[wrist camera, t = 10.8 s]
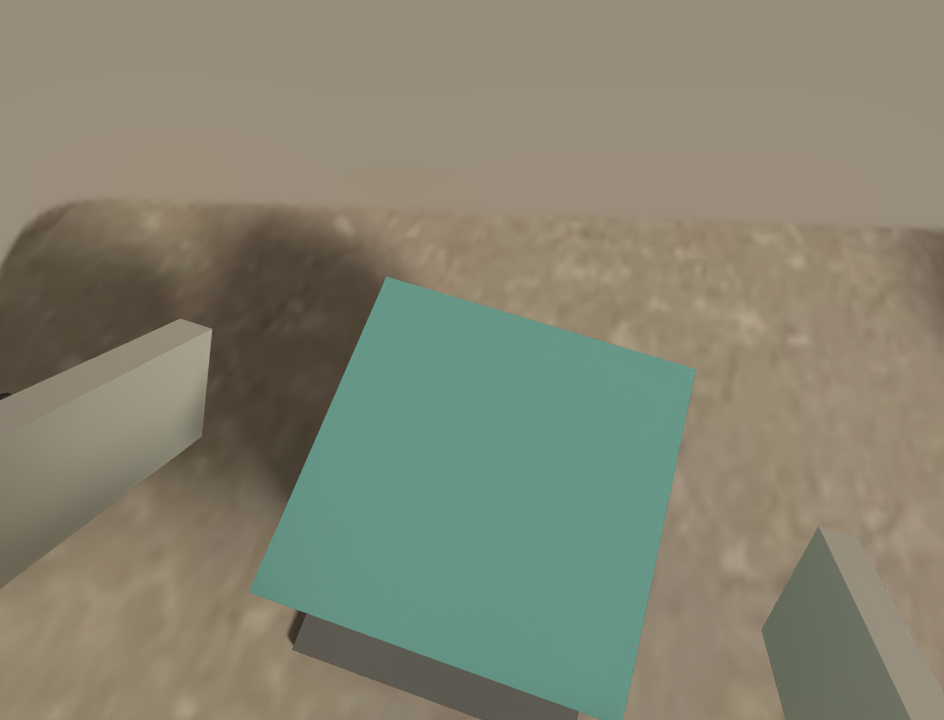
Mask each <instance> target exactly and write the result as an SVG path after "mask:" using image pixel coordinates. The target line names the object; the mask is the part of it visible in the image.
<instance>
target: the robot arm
mask: <svg viewBox="0 0 944 720" xmlns="http://www.w3.org/2000/svg"><path fill="white" fill-rule="evenodd" d="M211 336H212V329H211V328H208V327H205V326H202V325H199V324H196V323H192V322H189V321H186V320H183V319H179V320H176V321H174V322H172V323H170V324H167V325H165V326H163V327H161V328H159V329H156V330H154V331H152V332H150V333H148V334H145V335H143V336H141V337H139V338H137V339H134V340H132V341H130V342H128V343H126V344H123V345H121V346H119V347H117V348H114V349H112V350H110V351H108V352H106V353H103V354H101V355H99V356H97V357H95V358H92V359H90V360H88V361H86V362H84V363H81V364H79V365H77V366H75V367H73V368H70V369H68V370H66V371H64V372H61V373H59V374H57V375H55V376H53V377H50V378H48V379H46V380H44V381H42V382H39V383H37V384H35V385H33V386H31V387H28V388H26V389H24V390H22V391H20V392H17V393H15V394H10V393H3V394H0V589H1V588H2V587H3V586H4V585H6V584H7V583H8V582H10V581H11V580H12V579H14V578H15V577H16V576H18V575H19V574H20V573H22V572H23V571H24V570H26V569H27V568H28V567H30V566H31V565H32V564H34V563H35V562H36V561H38V560H39V559H40V558H42V557H43V556H44V555H46V554H47V553H48V552H50V551H51V550H52V549H53V548H55V547H56V546H57V545H59V544H60V543H61V542H63V541H64V540H65V539H67V538H68V537H69V536H71V535H72V534H73V533H75V532H76V531H77V530H79V529H80V528H81V527H83V526H84V525H85V524H87V523H88V522H89V521H91V520H92V519H93V518H95V517H96V516H97V515H99V514H100V513H101V512H102V511H104V510H105V509H106V508H108V507H109V506H110V505H112V504H113V503H114V502H116V501H117V500H118V499H120V498H121V497H122V496H124V495H125V494H126V493H128V492H129V491H130V490H132V489H133V488H134V487H136V486H137V485H138V484H140V483H141V482H142V481H144V480H145V479H146V478H148V477H149V476H150V475H151V474H153V473H154V472H155V471H157V470H158V469H159V468H161V467H162V466H163V465H165V464H166V463H167V462H169V461H170V460H171V459H173V458H174V457H175V456H177V455H178V454H179V453H181V452H182V451H183V450H185V449H186V448H187V447H189V446H190V445H191V444H193V443H194V442H195V441H197V440H198V439H199V438H200V437H202V431H203V420H204V410H205V399H206V389H207V378H208V367H209V357H210V346H211ZM762 634H763V637H764V641H765V645H766V648H767V652H768V656H769V660H770V663H771V667H772V671H773V674H774V678H775V682H776V686H777V689H778V693H779V697H780V700H781V704H782V708H783V712H784V715H785V719H786V720H944V692H943V690H942V689H941V687H940V685H939V683H938V681H937V680H936V678H935V676H934V674H933V672H932V671H931V669H930V667H929V665H928V663H927V662H926V660H925V658H924V656H923V654H922V653H921V651H920V649H919V647H918V645H917V644H916V642H915V640H914V638H913V636H912V635H911V633H910V631H909V629H908V627H907V626H906V624H905V622H904V620H903V618H902V617H901V615H900V613H899V611H898V609H897V608H896V606H895V604H894V602H893V601H892V599H891V597H890V595H889V593H888V592H887V590H886V588H885V586H884V584H883V583H882V581H881V579H880V577H879V575H878V574H877V572H876V570H875V568H874V566H873V565H872V563H871V561H870V559H869V557H868V556H867V554H866V552H865V550H864V548H863V547H862V545H861V543H860V541H859V539H857V538H854V537H851V536H848V535H844V534H841V533H838V532H835V531H832V530H829V529H826V528H823V527H820V526H819V527H818V528H817V530H816V532H815V534H814V536H813V537H812V539H811V541H810V543H809V545H808V546H807V548H806V550H805V552H804V554H803V555H802V557H801V559H800V561H799V563H798V564H797V566H796V568H795V570H794V572H793V574H792V575H791V577H790V579H789V581H788V583H787V584H786V586H785V588H784V590H783V592H782V593H781V595H780V597H779V599H778V601H777V602H776V604H775V606H774V608H773V610H772V612H771V613H770V615H769V617H768V619H767V621H766V622H765V624H764V626H763V628H762Z"/></svg>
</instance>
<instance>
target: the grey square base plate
mask: <svg viewBox="0 0 944 720" xmlns="http://www.w3.org/2000/svg"><path fill="white" fill-rule="evenodd" d="M292 650H294V651H297V652H300V653H302V654H305V655H308V656H311V657H313V658H316V659H319V660H321V661H324V662H327V663H330V664H332V665H335V666H338V667H341V668H343V669H346V670H349V671H351V672H354V673H357V674H360V675H362V676H365V677H368V678H370V679H373V680H376V681H379V682H381V683H384V684H387V685H389V686H392V687H395V688H398V689H400V690H403V691H406V692H409V693H411V694H414V695H417V696H419V697H422V698H425V699H428V700H430V701H433V702H436V703H438V704H441V705H444V706H447V707H449V708H452V709H455V710H457V711H460V712H463V713H466V714H468V715H471V716H474V717H477V718H479V719H482V720H577V717H578V713H579V711H576V710H574V709H571V708H568V707H565V706H563V705H560V704H557V703H554V702H551V701H549V700H546V699H543V698H540V697H538V696H535V695H532V694H529V693H527V692H524V691H521V690H518V689H515V688H513V687H510V686H507V685H504V684H502V683H499V682H496V681H493V680H490V679H488V678H485V677H482V676H479V675H477V674H474V673H471V672H468V671H466V670H463V669H460V668H457V667H454V666H452V665H449V664H446V663H443V662H441V661H438V660H435V659H432V658H429V657H427V656H424V655H421V654H418V653H416V652H413V651H410V650H407V649H405V648H402V647H399V646H396V645H393V644H391V643H388V642H385V641H382V640H380V639H377V638H374V637H371V636H369V635H366V634H363V633H360V632H357V631H355V630H352V629H349V628H346V627H344V626H341V625H338V624H335V623H332V622H330V621H327V620H324V619H321V618H319V617H316V616H313V615H310V614H308V613H306V616H305V618H304V621H303V623H302V626H301V629H300V631H299V634H298V636H297V639H296V641H295V644H294V646H293V649H292Z"/></svg>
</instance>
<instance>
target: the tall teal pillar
mask: <svg viewBox="0 0 944 720" xmlns="http://www.w3.org/2000/svg"><path fill="white" fill-rule="evenodd" d="M695 371H696V369H693V368H690V367H687V366H683V365H680V364H677V363H673V362H670V361H667V360H663V359H660V358H657V357H653V356H650V355H647V354H643V353H640V352H637V351H633V350H630V349H627V348H623V347H620V346H617V345H613V344H610V343H607V342H603V341H600V340H597V339H593V338H590V337H586V336H583V335H580V334H576V333H573V332H570V331H566V330H563V329H560V328H556V327H553V326H550V325H546V324H543V323H540V322H536V321H533V320H530V319H526V318H523V317H520V316H516V315H513V314H510V313H506V312H503V311H500V310H496V309H493V308H490V307H486V306H483V305H480V304H476V303H473V302H469V301H466V300H463V299H459V298H456V297H453V296H449V295H446V294H443V293H439V292H436V291H433V290H429V289H426V288H423V287H419V286H416V285H413V284H409V283H406V282H403V281H399V280H396V279H393V278H389V277H386V279H385V281H384V283H383V286H382V288H381V290H380V293H379V295H378V297H377V299H376V302H375V304H374V306H373V309H372V311H371V313H370V315H369V318H368V320H367V322H366V325H365V327H364V329H363V332H362V334H361V336H360V338H359V341H358V343H357V345H356V348H355V350H354V352H353V354H352V357H351V359H350V361H349V364H348V366H347V368H346V370H345V373H344V375H343V377H342V380H341V382H340V384H339V387H338V389H337V391H336V393H335V396H334V398H333V400H332V403H331V405H330V407H329V409H328V412H327V414H326V416H325V419H324V421H323V423H322V426H321V428H320V430H319V432H318V435H317V437H316V439H315V442H314V444H313V446H312V448H311V451H310V453H309V455H308V458H307V460H306V462H305V464H304V467H303V469H302V471H301V474H300V476H299V478H298V481H297V483H296V485H295V487H294V490H293V492H292V494H291V497H290V499H289V501H288V503H287V506H286V508H285V510H284V513H283V515H282V517H281V520H280V522H279V524H278V526H277V529H276V531H275V533H274V536H273V538H272V540H271V542H270V545H269V547H268V549H267V552H266V554H265V556H264V558H263V561H262V563H261V565H260V568H259V570H258V572H257V575H256V577H255V579H254V581H253V584H252V586H251V588H250V591H249V593H252V594H255V595H258V596H260V597H263V598H266V599H269V600H272V601H274V602H277V603H280V604H283V605H285V606H288V607H291V608H294V609H296V610H299V611H302V612H305V613H308V614H310V615H313V616H316V617H319V618H321V619H324V620H327V621H330V622H332V623H335V624H338V625H341V626H344V627H346V628H349V629H352V630H355V631H357V632H360V633H363V634H366V635H369V636H371V637H374V638H377V639H380V640H382V641H385V642H388V643H391V644H393V645H396V646H399V647H402V648H405V649H407V650H410V651H413V652H416V653H418V654H421V655H424V656H427V657H429V658H432V659H435V660H438V661H441V662H443V663H446V664H449V665H452V666H454V667H457V668H460V669H463V670H466V671H468V672H471V673H474V674H477V675H479V676H482V677H485V678H488V679H490V680H493V681H496V682H499V683H502V684H504V685H507V686H510V687H513V688H515V689H518V690H521V691H524V692H527V693H529V694H532V695H535V696H538V697H540V698H543V699H546V700H549V701H551V702H554V703H557V704H560V705H563V706H565V707H568V708H571V709H574V710H576V711H579V712H582V713H585V714H587V715H590V716H593V717H596V718H599V719H601V720H623V717H624V712H625V708H626V703H627V698H628V693H629V688H630V684H631V679H632V674H633V669H634V664H635V660H636V655H637V650H638V645H639V640H640V635H641V631H642V626H643V621H644V616H645V611H646V607H647V602H648V597H649V592H650V587H651V583H652V578H653V573H654V568H655V563H656V558H657V554H658V549H659V544H660V539H661V534H662V530H663V525H664V520H665V515H666V510H667V506H668V501H669V496H670V491H671V486H672V481H673V477H674V472H675V467H676V462H677V457H678V453H679V448H680V443H681V438H682V433H683V428H684V424H685V419H686V414H687V409H688V404H689V400H690V395H691V390H692V385H693V380H694V376H695Z"/></svg>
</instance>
